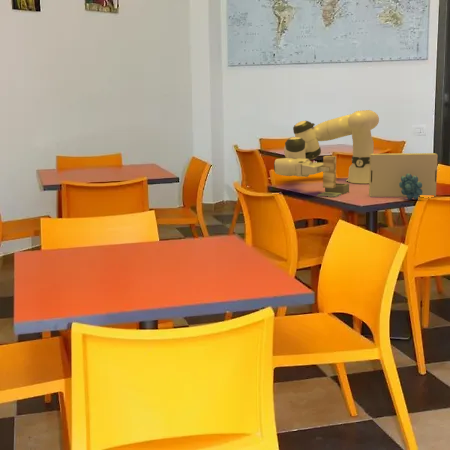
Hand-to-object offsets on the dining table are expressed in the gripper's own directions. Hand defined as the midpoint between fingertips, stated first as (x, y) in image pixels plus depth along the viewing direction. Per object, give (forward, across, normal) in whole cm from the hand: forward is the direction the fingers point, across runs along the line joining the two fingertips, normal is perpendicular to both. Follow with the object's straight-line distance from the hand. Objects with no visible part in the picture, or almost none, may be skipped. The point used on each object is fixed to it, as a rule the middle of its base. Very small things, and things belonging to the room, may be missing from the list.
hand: (331, 168), depth 323 cm
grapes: (+37, -2, -13) cm, 40 cm away
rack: (-1, -11, -13) cm, 17 cm away
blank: (-1, 0, -9) cm, 9 cm away
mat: (-1, 0, -13) cm, 13 cm away
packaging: (+31, -12, -13) cm, 36 cm away
